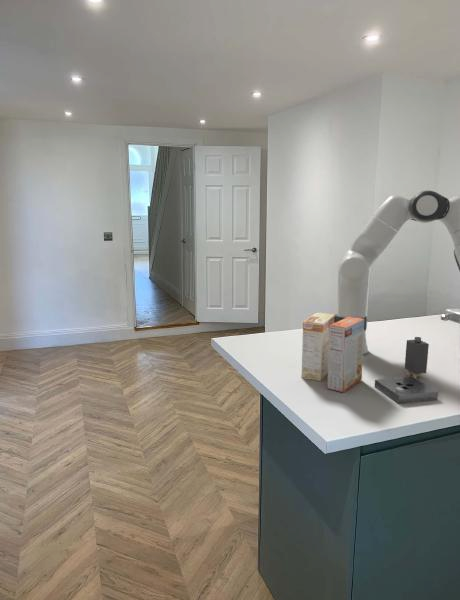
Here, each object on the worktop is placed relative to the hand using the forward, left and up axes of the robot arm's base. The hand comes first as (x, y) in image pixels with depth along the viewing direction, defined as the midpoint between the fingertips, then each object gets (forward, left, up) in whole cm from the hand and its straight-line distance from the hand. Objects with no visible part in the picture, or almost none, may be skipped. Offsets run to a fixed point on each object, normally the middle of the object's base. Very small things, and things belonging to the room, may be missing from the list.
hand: (451, 321), depth 153 cm
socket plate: (-16, -21, -18) cm, 32 cm away
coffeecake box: (-43, -9, -19) cm, 48 cm away
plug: (-11, -5, -18) cm, 22 cm away
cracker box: (-34, -18, -19) cm, 43 cm away
